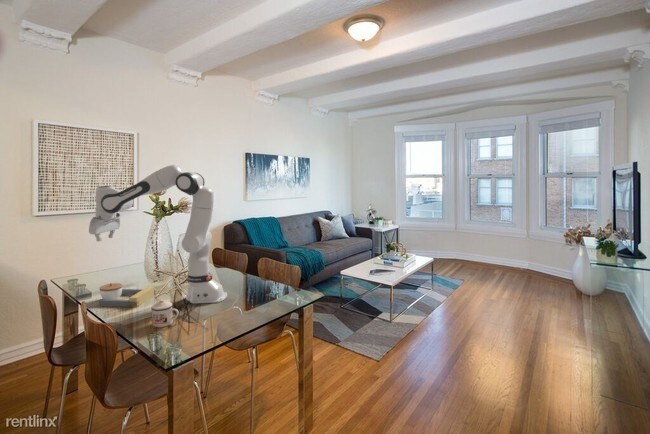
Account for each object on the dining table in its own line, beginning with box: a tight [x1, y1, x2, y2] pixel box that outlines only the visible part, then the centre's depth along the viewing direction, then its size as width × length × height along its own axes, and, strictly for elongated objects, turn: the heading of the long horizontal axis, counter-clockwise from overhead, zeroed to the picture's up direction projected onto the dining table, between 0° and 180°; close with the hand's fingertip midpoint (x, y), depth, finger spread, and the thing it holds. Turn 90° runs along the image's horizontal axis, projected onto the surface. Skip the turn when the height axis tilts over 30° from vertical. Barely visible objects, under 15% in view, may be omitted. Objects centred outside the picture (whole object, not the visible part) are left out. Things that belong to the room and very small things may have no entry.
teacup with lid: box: [150, 299, 180, 328], centre depth 159 cm, size 12×9×12 cm
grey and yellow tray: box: [98, 285, 156, 308], centre depth 187 cm, size 21×18×5 cm
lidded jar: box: [99, 282, 123, 300], centre depth 188 cm, size 11×11×9 cm
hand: (105, 239), depth 187 cm, fingers open, 8 cm apart
